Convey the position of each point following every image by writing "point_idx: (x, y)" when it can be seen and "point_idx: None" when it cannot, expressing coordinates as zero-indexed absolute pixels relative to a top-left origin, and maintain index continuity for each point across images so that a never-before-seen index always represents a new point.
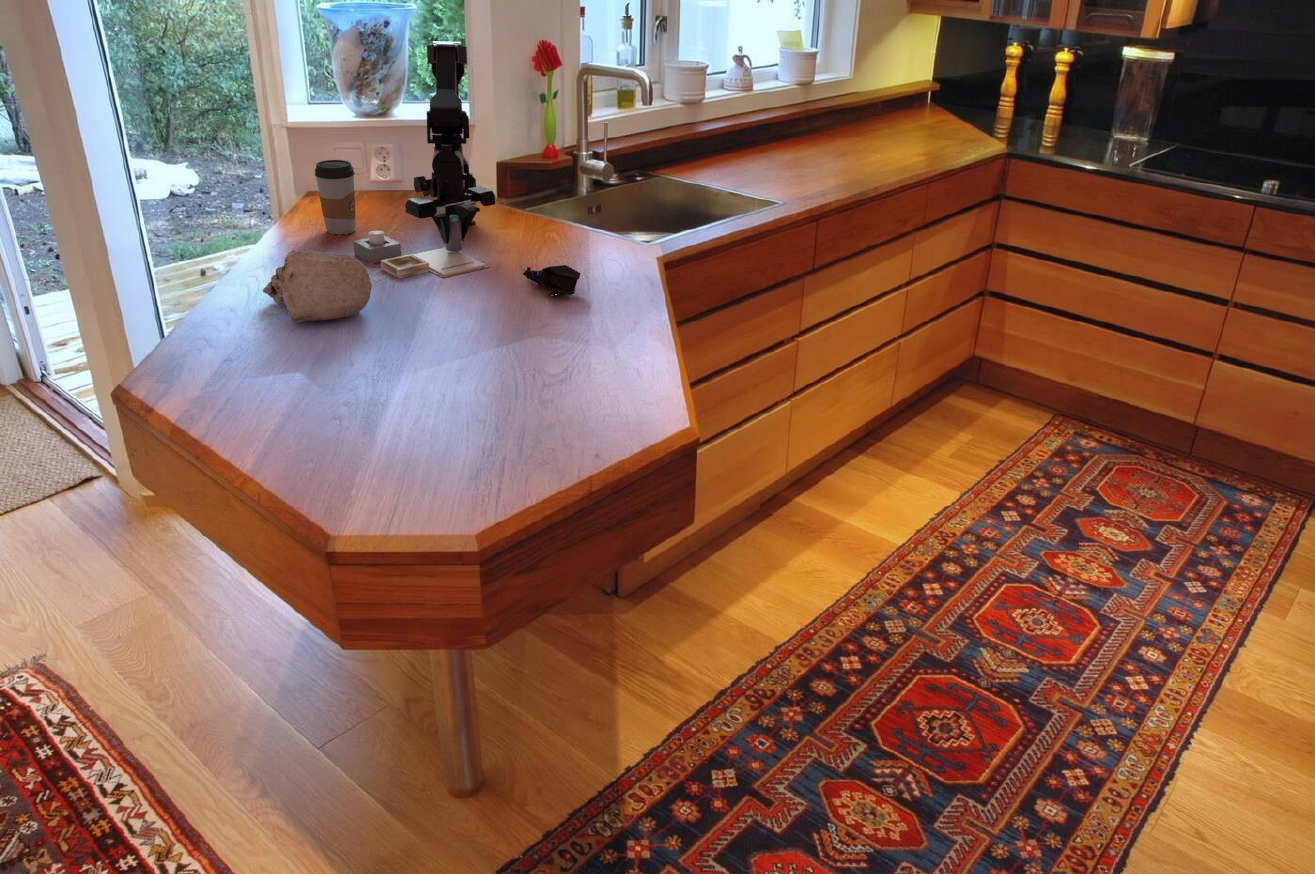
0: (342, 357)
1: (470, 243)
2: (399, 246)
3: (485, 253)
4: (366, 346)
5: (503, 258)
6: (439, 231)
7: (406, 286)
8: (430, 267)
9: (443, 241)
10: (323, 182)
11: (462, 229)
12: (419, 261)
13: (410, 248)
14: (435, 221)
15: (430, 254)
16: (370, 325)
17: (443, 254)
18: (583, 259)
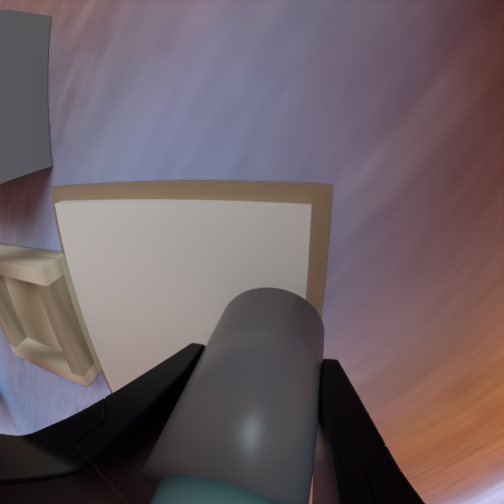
0: (6, 427)
1: (494, 192)
2: (7, 180)
3: (418, 367)
4: (19, 434)
5: (408, 431)
6: (127, 391)
7: (44, 381)
8: (103, 370)
9: (185, 349)
10: None
11: (317, 460)
12: (63, 349)
13: (134, 46)
14: (56, 441)
15: (145, 259)
16: (14, 415)
17: (204, 305)
18: (497, 480)
